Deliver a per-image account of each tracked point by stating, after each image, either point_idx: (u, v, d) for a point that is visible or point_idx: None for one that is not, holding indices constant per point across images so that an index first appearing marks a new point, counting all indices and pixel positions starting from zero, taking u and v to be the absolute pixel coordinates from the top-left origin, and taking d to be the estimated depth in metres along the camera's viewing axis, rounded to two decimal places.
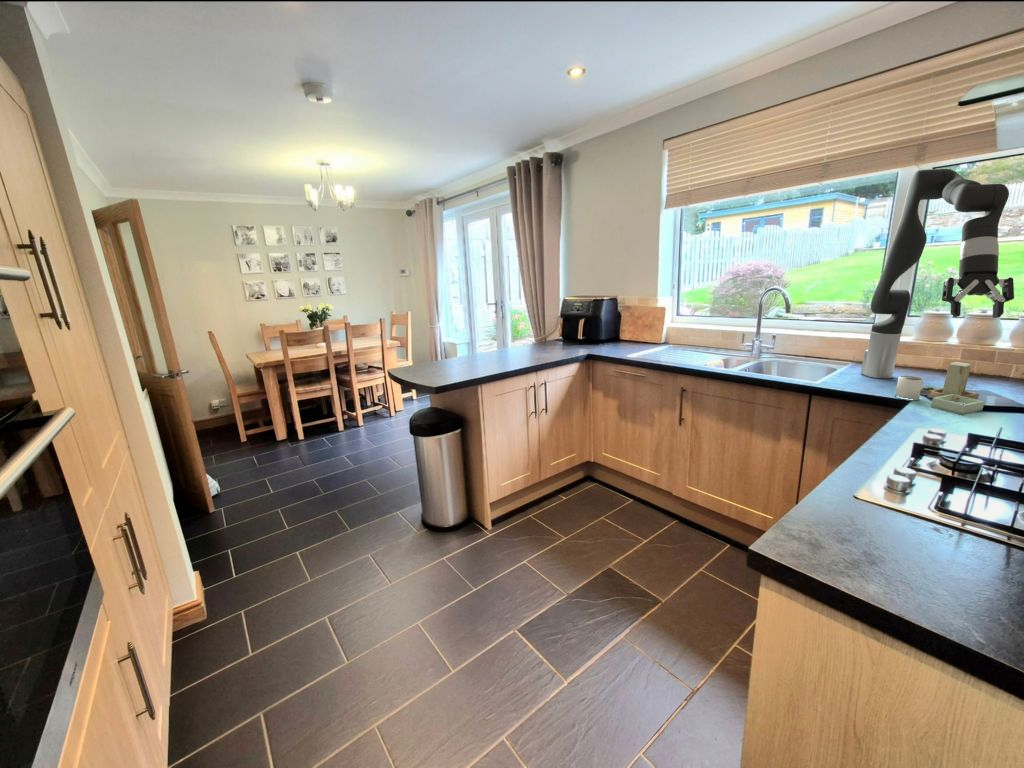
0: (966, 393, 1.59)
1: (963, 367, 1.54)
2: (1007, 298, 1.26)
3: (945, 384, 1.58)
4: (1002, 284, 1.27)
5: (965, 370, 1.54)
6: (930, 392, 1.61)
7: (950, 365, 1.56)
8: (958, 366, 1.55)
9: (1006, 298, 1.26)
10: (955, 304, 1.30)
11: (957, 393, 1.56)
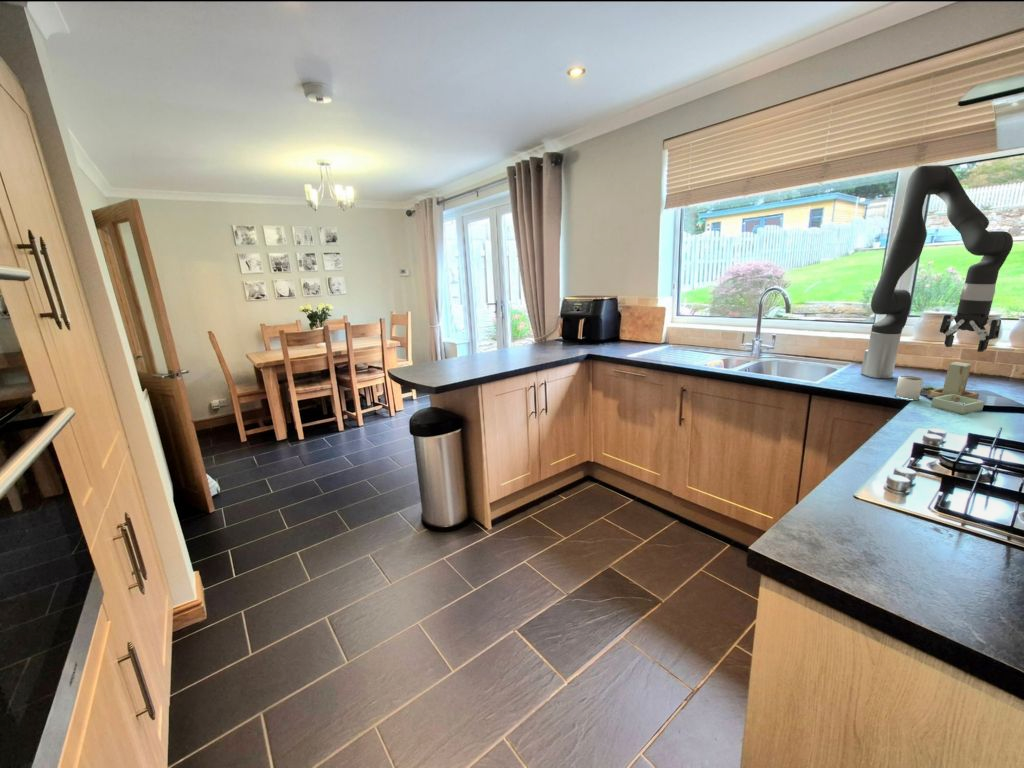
0: (966, 393, 1.59)
1: (963, 367, 1.54)
2: (989, 337, 1.48)
3: (945, 384, 1.58)
4: None
5: (965, 370, 1.54)
6: (930, 392, 1.61)
7: (950, 365, 1.56)
8: (958, 366, 1.55)
9: (988, 337, 1.48)
10: (947, 337, 1.58)
11: (957, 393, 1.56)
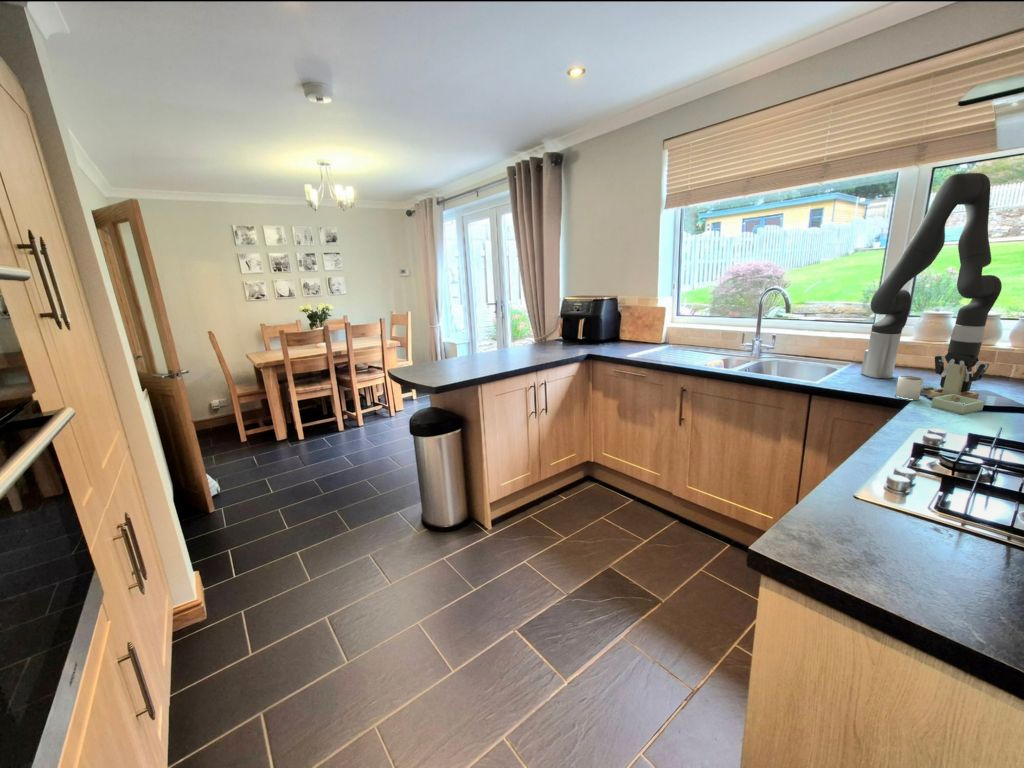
0: (966, 393, 1.59)
1: (963, 367, 1.54)
2: (972, 378, 1.53)
3: (945, 384, 1.58)
4: (977, 366, 1.52)
5: None
6: (930, 392, 1.61)
7: (950, 365, 1.56)
8: (958, 366, 1.55)
9: (971, 379, 1.53)
10: (942, 378, 1.61)
11: (957, 393, 1.56)
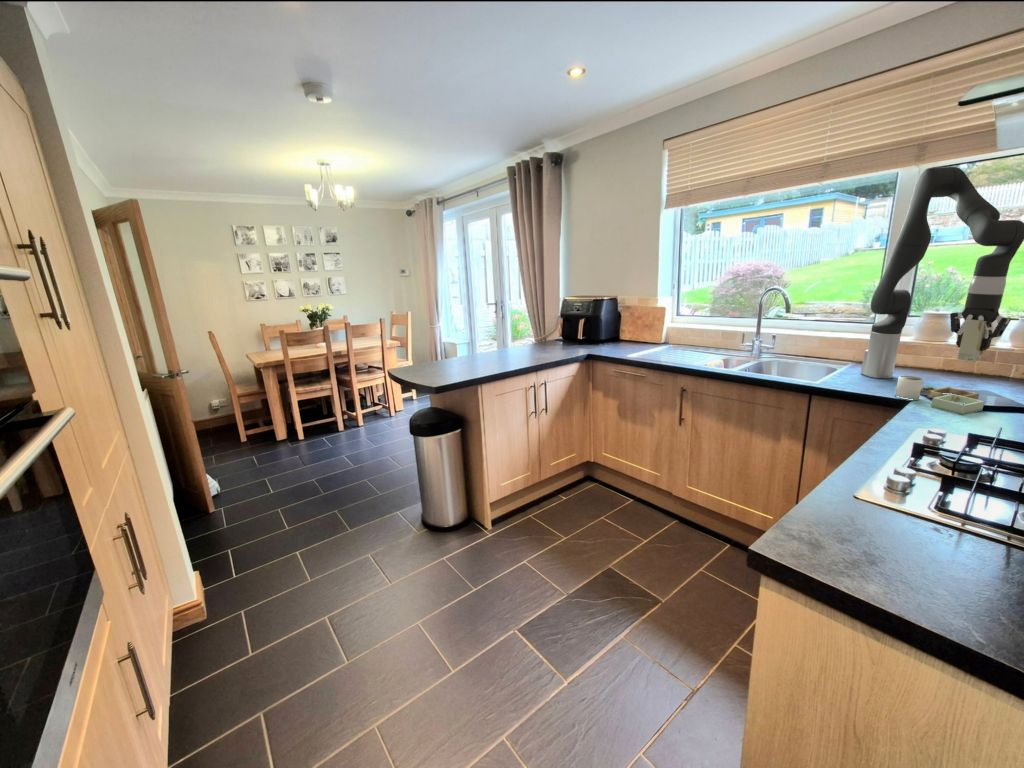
0: (966, 393, 1.59)
1: (982, 322, 1.41)
2: (992, 334, 1.40)
3: (962, 342, 1.45)
4: (997, 321, 1.39)
5: (984, 326, 1.41)
6: (930, 392, 1.61)
7: (968, 321, 1.43)
8: (977, 322, 1.42)
9: (991, 335, 1.40)
10: (959, 337, 1.48)
11: (975, 351, 1.43)
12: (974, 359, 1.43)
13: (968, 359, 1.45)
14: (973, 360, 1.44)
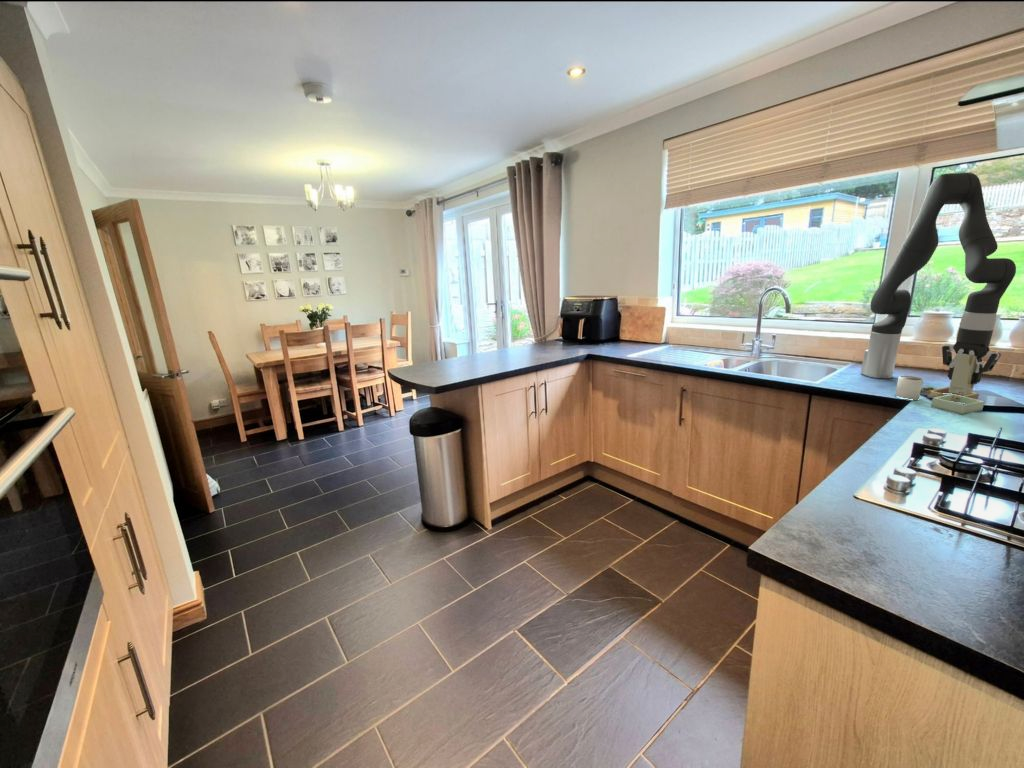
0: None
1: (973, 357, 1.44)
2: None
3: (953, 375, 1.48)
4: (988, 356, 1.42)
5: None
6: (930, 392, 1.61)
7: (959, 355, 1.46)
8: (967, 356, 1.45)
9: (982, 369, 1.43)
10: (950, 369, 1.51)
11: (966, 385, 1.46)
12: (965, 392, 1.46)
13: (959, 392, 1.47)
14: (964, 393, 1.47)
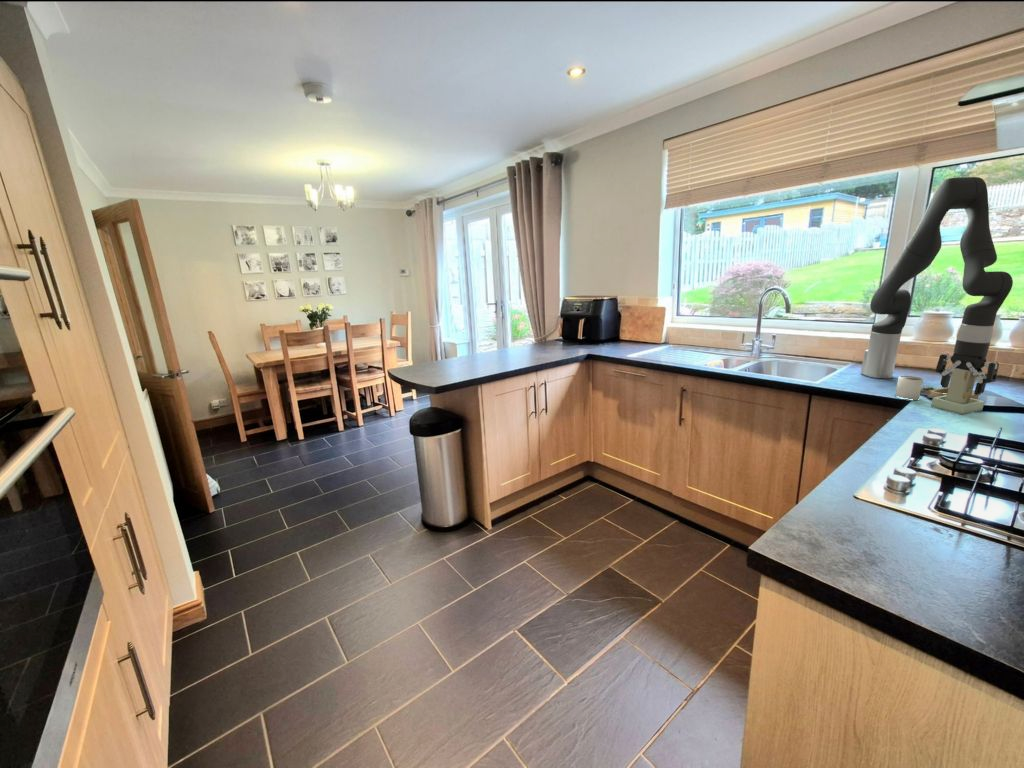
0: None
1: (968, 373, 1.45)
2: (986, 380, 1.43)
3: (949, 390, 1.50)
4: (987, 367, 1.43)
5: (970, 376, 1.46)
6: (930, 392, 1.61)
7: (954, 370, 1.48)
8: (963, 371, 1.46)
9: (986, 380, 1.43)
10: (943, 377, 1.53)
11: (961, 400, 1.47)
12: None
13: None
14: None
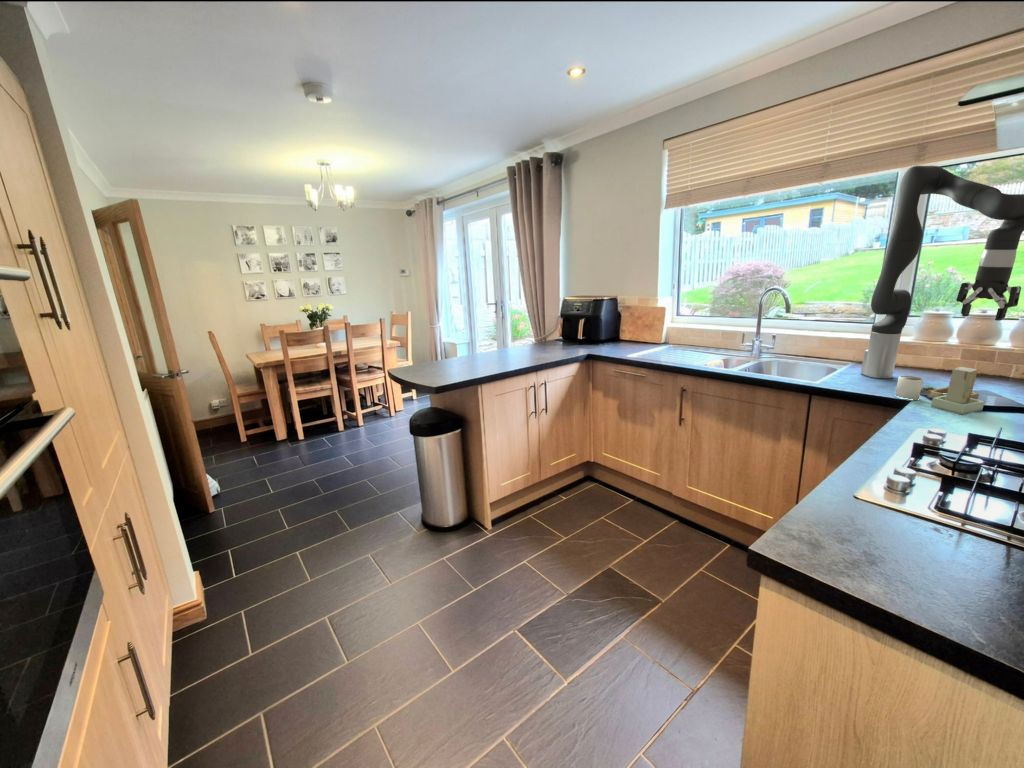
0: None
1: (968, 372, 1.45)
2: (1008, 305, 1.43)
3: (949, 390, 1.50)
4: (1009, 291, 1.43)
5: (970, 376, 1.46)
6: (930, 392, 1.61)
7: (954, 370, 1.48)
8: (962, 371, 1.46)
9: (1007, 305, 1.44)
10: (964, 306, 1.54)
11: (961, 400, 1.47)
12: None
13: None
14: None
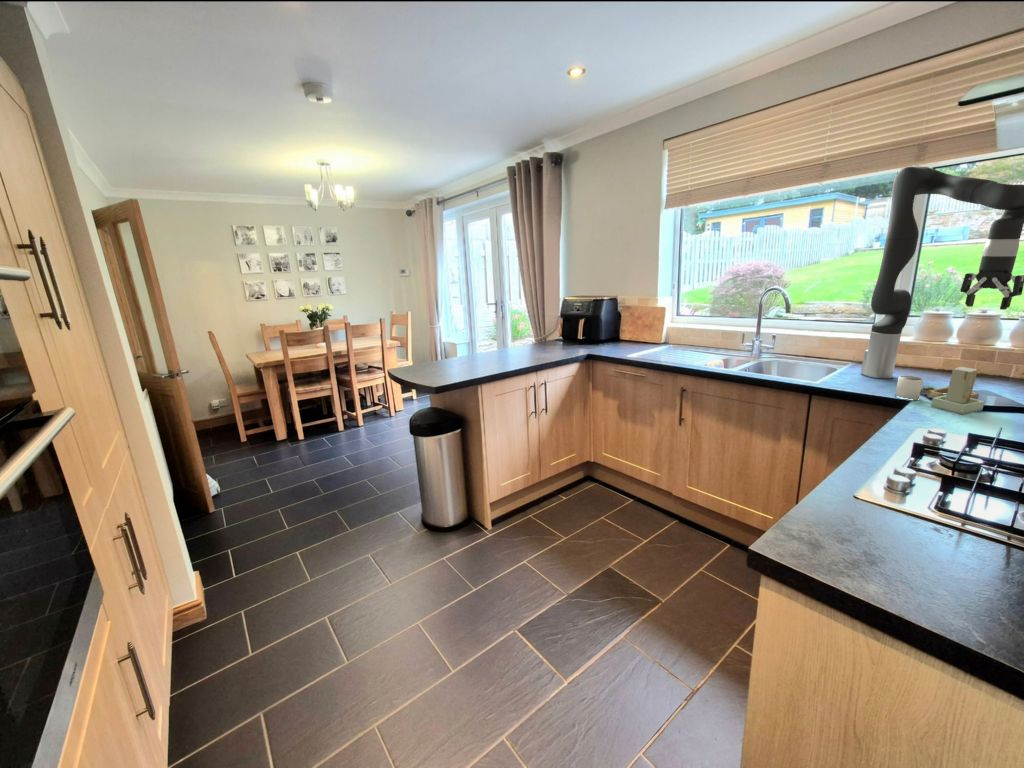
0: None
1: (968, 372, 1.45)
2: (1012, 294, 1.45)
3: (949, 390, 1.50)
4: (1013, 280, 1.45)
5: (970, 376, 1.46)
6: (930, 392, 1.61)
7: (954, 370, 1.48)
8: (962, 371, 1.46)
9: (1012, 293, 1.45)
10: (968, 296, 1.55)
11: (961, 400, 1.47)
12: None
13: None
14: None
